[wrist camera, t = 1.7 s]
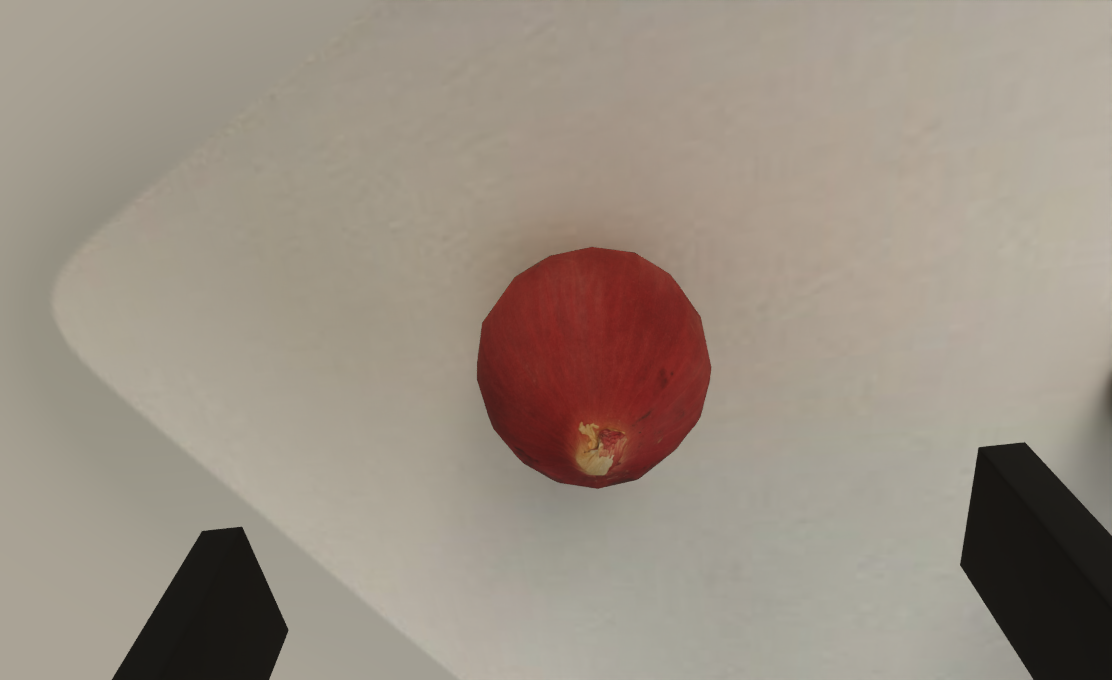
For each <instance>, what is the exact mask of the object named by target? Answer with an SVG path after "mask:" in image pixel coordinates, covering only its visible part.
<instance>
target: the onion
mask: <svg viewBox="0 0 1112 680" xmlns="http://www.w3.org/2000/svg"><path fill="white" fill-rule="evenodd" d="M710 374H711V364H710V359H709V354H708V350H707V345H706V340H705V335H704V331H703V326H702V321H701V317H700V315H699V314H698V312H697V311H696V309H695V308H694V307H693V305H692V304H691V302H690V301H689V299H688V298H687V297H686V295H685V294H684V292H683V291H682V289H681V288H680V287H679V285H678V284H677V283H676V281H675V280H674V279H673V278H672V276H671V275H670V274H669V273H667V272H666V271H664V270H662V269H661V268H659V267H657V266H656V265H654V264H653V263H651V262H649V261H648V260H646V259H644V258H643V257H641V256H639V255H638V254H636V253H633V252H626V251H618V250H611V249H603V248H596V247H589V248H585V249H580V250H575V251H570V252H566V253H561V254H556V255H551V256H549V257H547V258H545V259H544V260H542V261H540V262H539V263H537V264H535V265H534V266H532V267H531V268H529V269H527V270H526V271H524V272H522V273H521V274H519V275H517V276H516V277H515V278H514V279H513V280H512V282H511V283H510V285H509V286H508V287H507V289H506V290H505V292H504V293H503V294H502V296H501V297H500V299H499V300H498V301H497V303H496V304H495V306H494V307H493V308H492V310H491V311H490V313H489V314H488V316H487V317H486V318H485V320H484V321H483V323H482V329H481V337H480V345H479V353H478V361H477V381H478V384H479V387H480V391H481V394H482V397H483V400H484V403H485V406H486V410H487V413H488V416H489V419H490V421H491V424H492V426H493V429H494V430H495V431H496V432H497V434H498V435H499V436H500V437H501V438H502V440H503V441H504V442H505V443H506V444H507V445H508V447H509V448H510V449H511V450H512V451H513V453H514V454H515V455H516V456H517V457H518V458H519V459H520V460H521V461H522V462H523V463H524V464H526V465H528V466H529V467H531V468H533V469H535V470H536V471H538V472H540V473H542V474H543V475H545V476H547V477H548V478H550V479H552V480H554V481H556V482H559V483H564V484H570V485H577V486H583V487H590V488H596V489H599V488H603V487H607V486H612V485H616V484H621V483H625V482H629V481H634V480H637V479H639V478H641V477H642V476H643V475H644V474H646V473H647V472H648V471H649V470H651V469H652V468H653V467H654V466H656V465H657V464H658V463H659V462H661V461H662V460H663V459H664V458H666V457H667V456H668V455H669V454H671V453H672V452H673V451H674V450H676V449H677V447H678V446H679V445H680V443H681V442H682V441H683V439H684V438H685V437H686V435H687V434H688V433H689V432H690V431H691V429H692V428H693V427H694V426H695V425H696V423H697V421H698V420H699V418H700V417H701V413H702V409H703V405H704V401H705V397H706V393H707V389H708V385H709V381H710Z"/></svg>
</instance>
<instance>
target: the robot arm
mask: <svg viewBox="0 0 1112 680" xmlns="http://www.w3.org/2000/svg"><path fill="white" fill-rule="evenodd" d="M960 566H961V567H962V569H963V570H964V572H965V573H966V575H967V577H968V578H969V580H970V581H971V583H972V584H973V586H974V587H975V589H976V591H977V592H978V594H979V595H980V597H981V598H982V600H983V601H984V603H985V605H986V606H987V608H988V609H989V611H990V612H991V614H992V615H993V617H994V619H995V620H996V622H997V623H998V625H999V626H1000V628H1001V630H1002V631H1003V633H1004V634H1005V636H1006V637H1007V639H1008V640H1009V642H1010V644H1011V645H1012V647H1013V648H1014V650H1015V651H1016V653H1017V654H1018V656H1019V658H1020V659H1021V661H1022V662H1023V664H1024V665H1025V667H1026V668H1027V670H1028V672H1029V673H1030V675H1031V676H1032V678H1033V679H1034V680H1112V536H1111V534H1110V533H1109V532H1108V531H1107V530H1106V529H1105V528H1104V527H1103V526H1102V525H1101V524H1100V523H1099V522H1098V520H1097V519H1096V518H1095V517H1094V516H1093V515H1092V514H1091V513H1090V512H1089V511H1088V510H1087V509H1086V508H1085V506H1084V505H1083V504H1082V503H1081V502H1080V501H1079V500H1078V499H1077V498H1076V497H1075V496H1074V495H1073V494H1072V492H1071V491H1070V490H1069V489H1068V488H1067V487H1066V486H1065V485H1064V484H1063V483H1062V482H1061V481H1060V480H1059V478H1058V477H1057V476H1056V475H1055V474H1054V473H1053V472H1052V471H1051V470H1050V469H1049V468H1048V467H1047V466H1046V464H1045V463H1044V462H1043V461H1042V460H1041V459H1040V458H1039V457H1038V456H1037V455H1036V454H1035V453H1034V452H1033V450H1032V449H1031V448H1030V447H1029V446H1028V445H1027V444H1026V443H1025V442H1024V443H1014V444H1005V445H996V446H986V447H979V448H978V454H977V461H976V467H975V474H974V480H973V486H972V493H971V499H970V505H969V512H968V518H967V525H966V531H965V537H964V544H963V550H962V556H961V563H960ZM287 633H288V628H287V626H286V623H285V621H284V619H283V617H282V614H281V612H280V610H279V608H278V605H277V603H276V601H275V599H274V597H273V594H272V592H271V590H270V588H269V585H268V583H267V581H266V579H265V577H264V574H263V572H262V570H261V568H260V565H259V564H258V561H257V559H256V557H255V554H254V553H253V550H252V548H251V546H250V543H249V541H248V539H247V537H246V534H245V532H244V530H243V528H242V527H236V528H226V529H216V530H208V531H202V532H201V534H200V536H199V537H198V539H197V541H196V542H195V544H194V546H193V547H192V549H191V550H190V552H189V554H188V555H187V557H186V559H185V560H184V562H183V564H182V565H181V567H180V569H179V570H178V572H177V573H176V575H175V577H174V578H173V580H172V582H171V583H170V585H169V587H168V588H167V590H166V591H165V593H164V595H163V597H162V598H161V600H160V601H159V603H158V605H157V606H156V608H155V610H154V611H153V613H152V615H151V616H150V618H149V619H148V621H147V623H146V625H145V626H144V628H143V629H142V631H141V633H140V634H139V636H138V638H137V639H136V641H135V642H134V644H133V646H132V647H131V649H130V651H129V652H128V654H127V656H126V657H125V659H124V661H123V662H122V664H121V666H120V667H119V669H118V670H117V672H116V674H115V675H114V677H113V679H112V680H269V678H270V676H271V673H272V671H273V668H274V666H275V663H276V661H277V658H278V656H279V653H280V651H281V648H282V646H283V643H284V641H285V638H286V635H287Z"/></svg>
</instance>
